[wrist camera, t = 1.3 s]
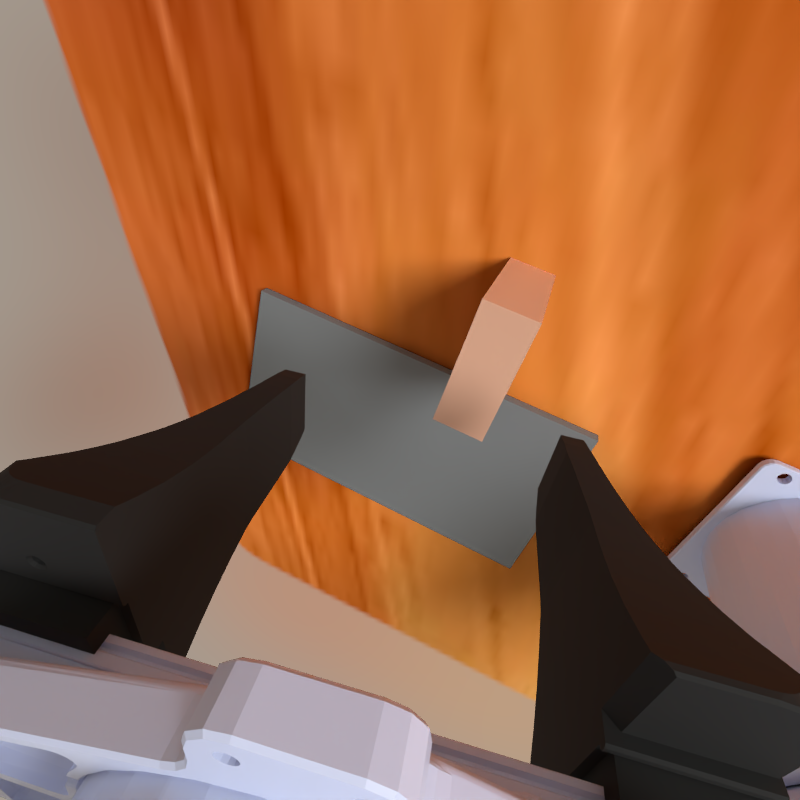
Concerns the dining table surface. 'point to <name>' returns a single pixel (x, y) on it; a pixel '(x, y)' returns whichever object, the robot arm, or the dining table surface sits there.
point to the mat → (408, 431)
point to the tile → (495, 348)
